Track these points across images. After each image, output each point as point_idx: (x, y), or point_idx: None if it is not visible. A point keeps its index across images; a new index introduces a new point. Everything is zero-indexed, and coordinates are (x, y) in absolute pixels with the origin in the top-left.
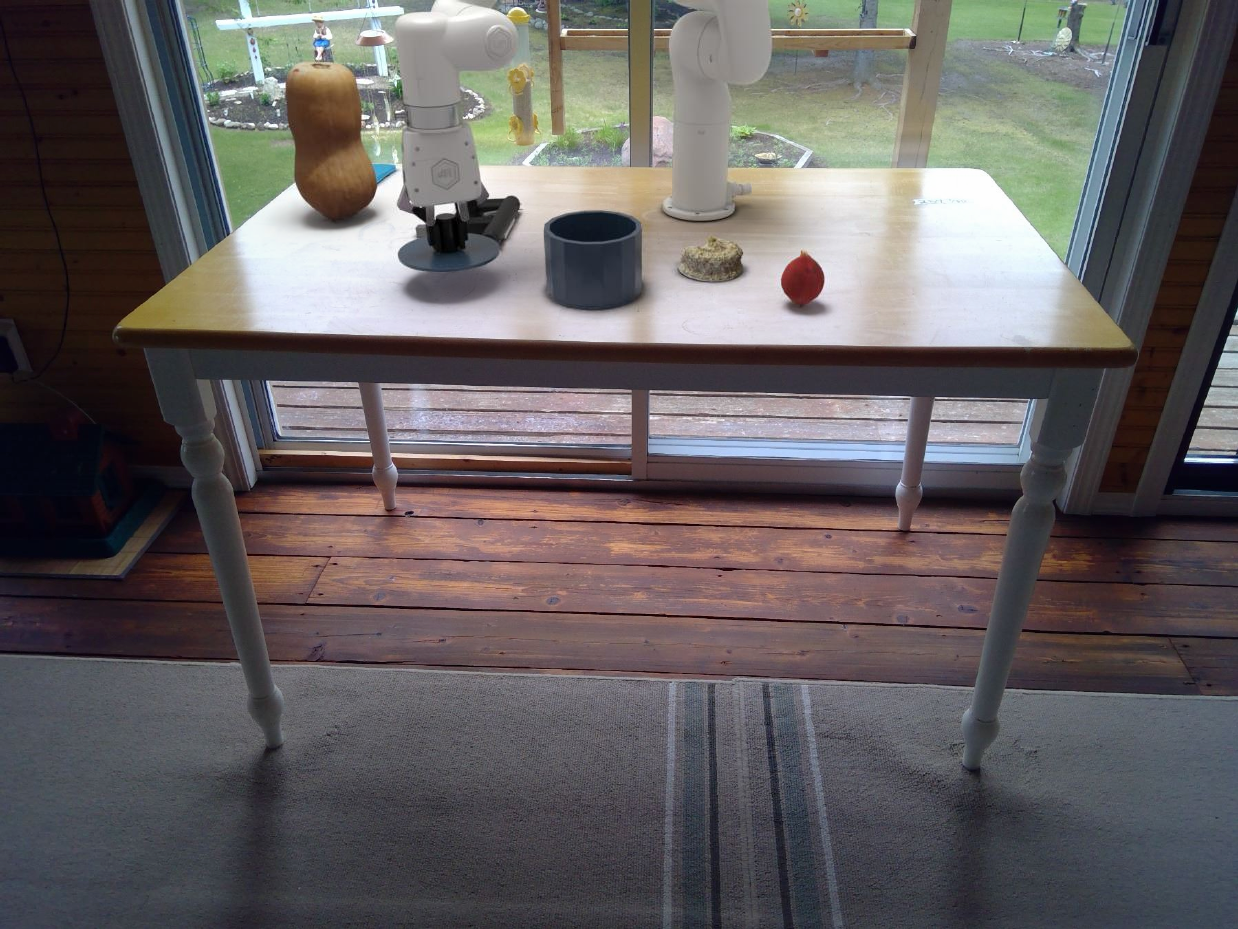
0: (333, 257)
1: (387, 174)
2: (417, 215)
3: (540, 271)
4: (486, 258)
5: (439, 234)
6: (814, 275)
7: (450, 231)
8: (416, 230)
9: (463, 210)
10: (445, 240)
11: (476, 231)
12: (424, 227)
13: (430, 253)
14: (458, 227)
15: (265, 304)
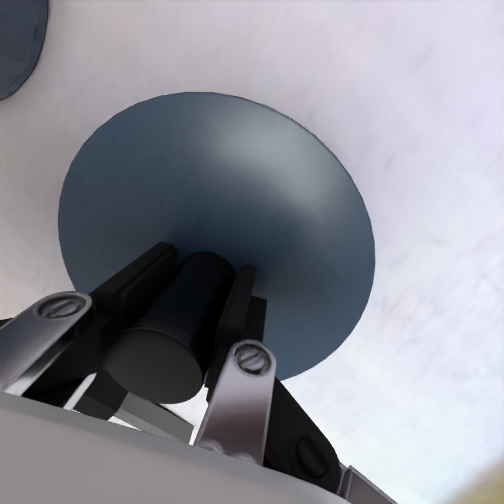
0: (336, 445)
1: None
2: (312, 430)
3: (37, 175)
4: (126, 128)
5: (230, 298)
6: None
7: (179, 289)
8: (189, 438)
9: (29, 334)
10: (214, 280)
11: (102, 382)
12: (175, 437)
13: (266, 290)
14: (135, 287)
15: None
